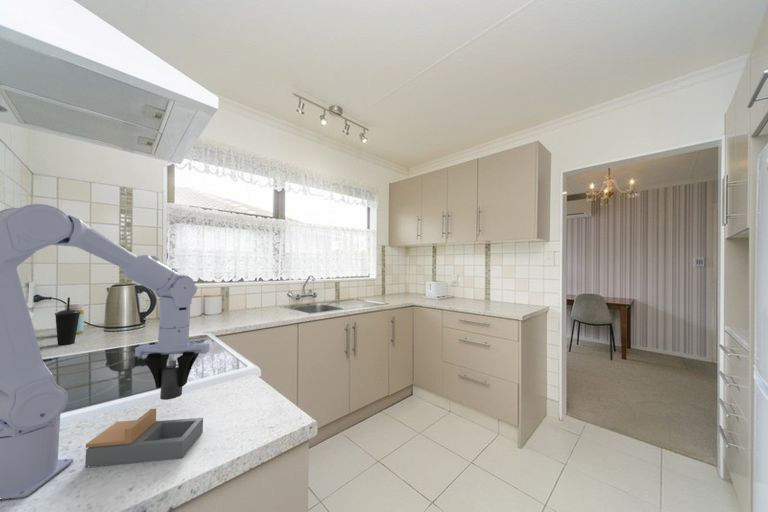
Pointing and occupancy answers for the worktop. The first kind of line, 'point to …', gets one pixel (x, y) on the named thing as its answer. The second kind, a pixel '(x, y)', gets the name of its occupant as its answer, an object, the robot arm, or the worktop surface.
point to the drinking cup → (67, 325)
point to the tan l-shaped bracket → (124, 431)
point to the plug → (170, 381)
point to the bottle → (81, 317)
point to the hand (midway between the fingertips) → (171, 385)
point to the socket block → (150, 444)
